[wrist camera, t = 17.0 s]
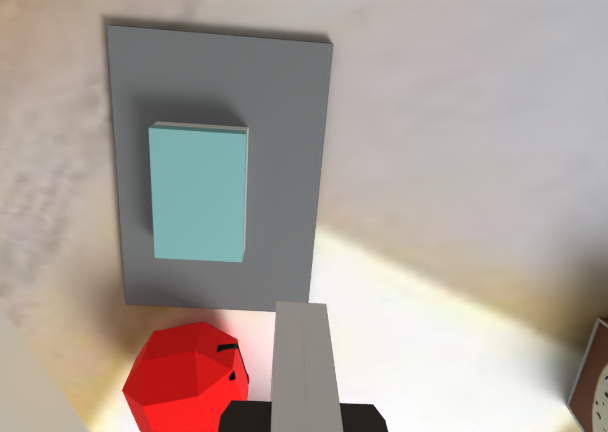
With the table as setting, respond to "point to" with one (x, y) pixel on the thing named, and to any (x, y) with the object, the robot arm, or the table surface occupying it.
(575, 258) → the table surface
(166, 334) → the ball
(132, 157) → the mat
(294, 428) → the robot arm
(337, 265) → the table surface
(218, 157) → the tile
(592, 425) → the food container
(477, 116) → the table surface
